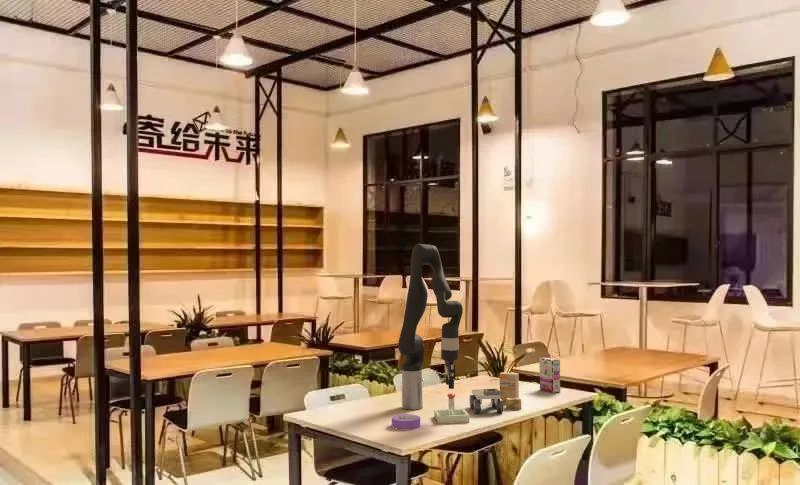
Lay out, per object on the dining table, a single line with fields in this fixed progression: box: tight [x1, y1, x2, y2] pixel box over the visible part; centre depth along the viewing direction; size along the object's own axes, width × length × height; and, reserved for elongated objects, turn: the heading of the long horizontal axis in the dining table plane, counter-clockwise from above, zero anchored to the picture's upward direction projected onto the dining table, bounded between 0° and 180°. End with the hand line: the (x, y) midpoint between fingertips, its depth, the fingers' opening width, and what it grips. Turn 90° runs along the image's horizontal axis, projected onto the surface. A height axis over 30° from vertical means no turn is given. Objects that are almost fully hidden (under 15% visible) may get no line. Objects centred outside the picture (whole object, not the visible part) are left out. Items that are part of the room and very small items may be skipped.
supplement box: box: [499, 371, 520, 402], centre depth 321 cm, size 8×5×13 cm, turn 62°
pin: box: [447, 393, 456, 415], centre depth 285 cm, size 3×3×10 cm
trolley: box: [468, 388, 504, 415], centre depth 301 cm, size 12×16×10 cm
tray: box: [433, 408, 470, 425], centre depth 285 cm, size 13×12×3 cm
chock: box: [505, 397, 522, 411], centre depth 304 cm, size 6×4×4 cm, turn 95°
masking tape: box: [391, 413, 421, 430], centre depth 275 cm, size 12×12×4 cm
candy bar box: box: [538, 357, 561, 394], centre depth 343 cm, size 11×5×16 cm, turn 25°
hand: (449, 386), depth 285 cm, fingers open, 8 cm apart
